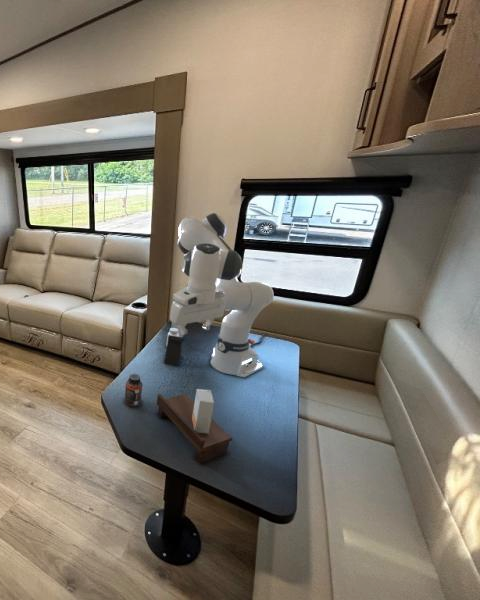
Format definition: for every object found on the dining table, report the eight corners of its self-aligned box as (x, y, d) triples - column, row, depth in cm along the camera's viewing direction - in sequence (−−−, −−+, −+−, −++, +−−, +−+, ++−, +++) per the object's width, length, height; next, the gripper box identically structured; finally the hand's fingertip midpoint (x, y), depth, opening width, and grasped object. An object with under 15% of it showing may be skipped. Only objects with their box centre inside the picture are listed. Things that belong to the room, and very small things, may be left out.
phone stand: (177, 366, 141) (181, 342, 136) (164, 363, 143) (166, 339, 138) (180, 356, 148) (183, 333, 144) (167, 353, 151) (170, 331, 146)
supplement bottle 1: (140, 408, 115) (142, 382, 111) (124, 406, 116) (125, 380, 112) (140, 398, 121) (143, 373, 116) (125, 395, 122) (126, 371, 118)
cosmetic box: (191, 418, 102) (196, 388, 98) (205, 420, 101) (211, 389, 97) (194, 432, 96) (199, 401, 92) (208, 434, 96) (215, 402, 91)
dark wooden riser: (183, 406, 116) (186, 386, 113) (229, 452, 97) (234, 429, 94) (155, 415, 112) (157, 394, 109) (197, 464, 93) (202, 441, 90)
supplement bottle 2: (179, 349, 154) (181, 331, 151) (168, 350, 154) (171, 332, 150) (174, 343, 159) (177, 326, 156) (164, 344, 159) (166, 327, 155)
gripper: (218, 287, 110) (212, 323, 115) (169, 294, 103) (165, 332, 108) (232, 293, 104) (225, 330, 110) (181, 301, 98) (176, 340, 103)
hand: (194, 331), depth 109 cm, fingers open, 8 cm apart
